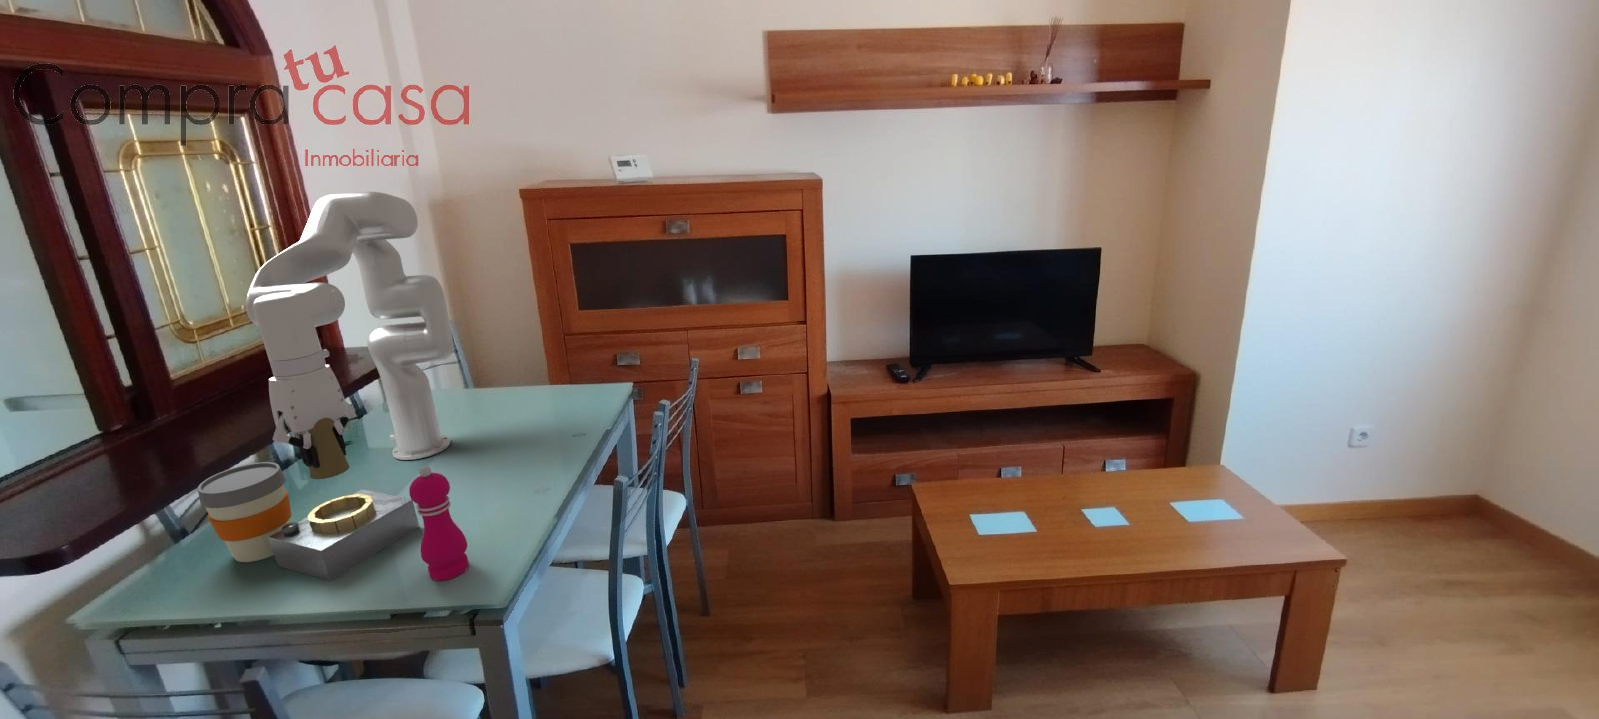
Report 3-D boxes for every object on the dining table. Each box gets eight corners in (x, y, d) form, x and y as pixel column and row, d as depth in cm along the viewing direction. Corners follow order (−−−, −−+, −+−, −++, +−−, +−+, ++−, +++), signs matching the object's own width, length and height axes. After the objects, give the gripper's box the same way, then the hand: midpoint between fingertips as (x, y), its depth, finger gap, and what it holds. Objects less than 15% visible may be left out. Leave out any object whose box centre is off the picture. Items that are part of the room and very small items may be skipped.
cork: (357, 465, 127) (341, 410, 124) (326, 481, 122) (309, 423, 118) (333, 462, 129) (317, 407, 126) (302, 477, 124) (284, 420, 120)
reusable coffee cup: (204, 569, 125) (176, 496, 121) (255, 531, 137) (231, 463, 133) (273, 566, 125) (248, 492, 120) (318, 528, 137) (297, 459, 132)
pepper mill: (436, 560, 124) (411, 459, 118) (478, 556, 125) (455, 455, 119) (419, 584, 117) (391, 479, 111) (463, 580, 118) (437, 475, 112)
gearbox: (278, 565, 125) (265, 527, 123) (369, 515, 141) (359, 480, 138) (330, 580, 120) (317, 540, 117) (419, 526, 136) (410, 490, 133)
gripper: (330, 348, 128) (355, 439, 134) (231, 378, 113) (264, 479, 119) (358, 351, 125) (383, 444, 131) (260, 382, 111) (293, 485, 116)
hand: (326, 459), depth 125 cm, fingers closed on cork, 4 cm apart
